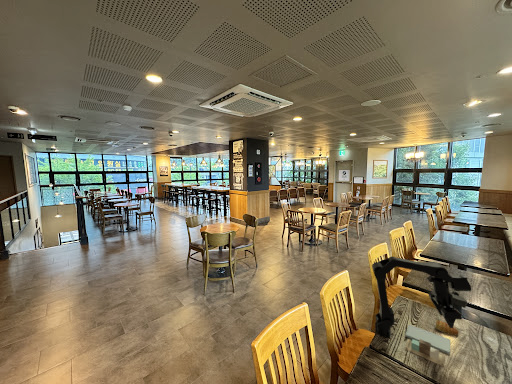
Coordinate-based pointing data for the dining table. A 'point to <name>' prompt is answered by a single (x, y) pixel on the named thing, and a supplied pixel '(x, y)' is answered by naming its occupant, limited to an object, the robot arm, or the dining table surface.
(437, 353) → the block
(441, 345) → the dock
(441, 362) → the tray
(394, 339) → the dining table surface
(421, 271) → the robot arm
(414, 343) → the block
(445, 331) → the pastry
